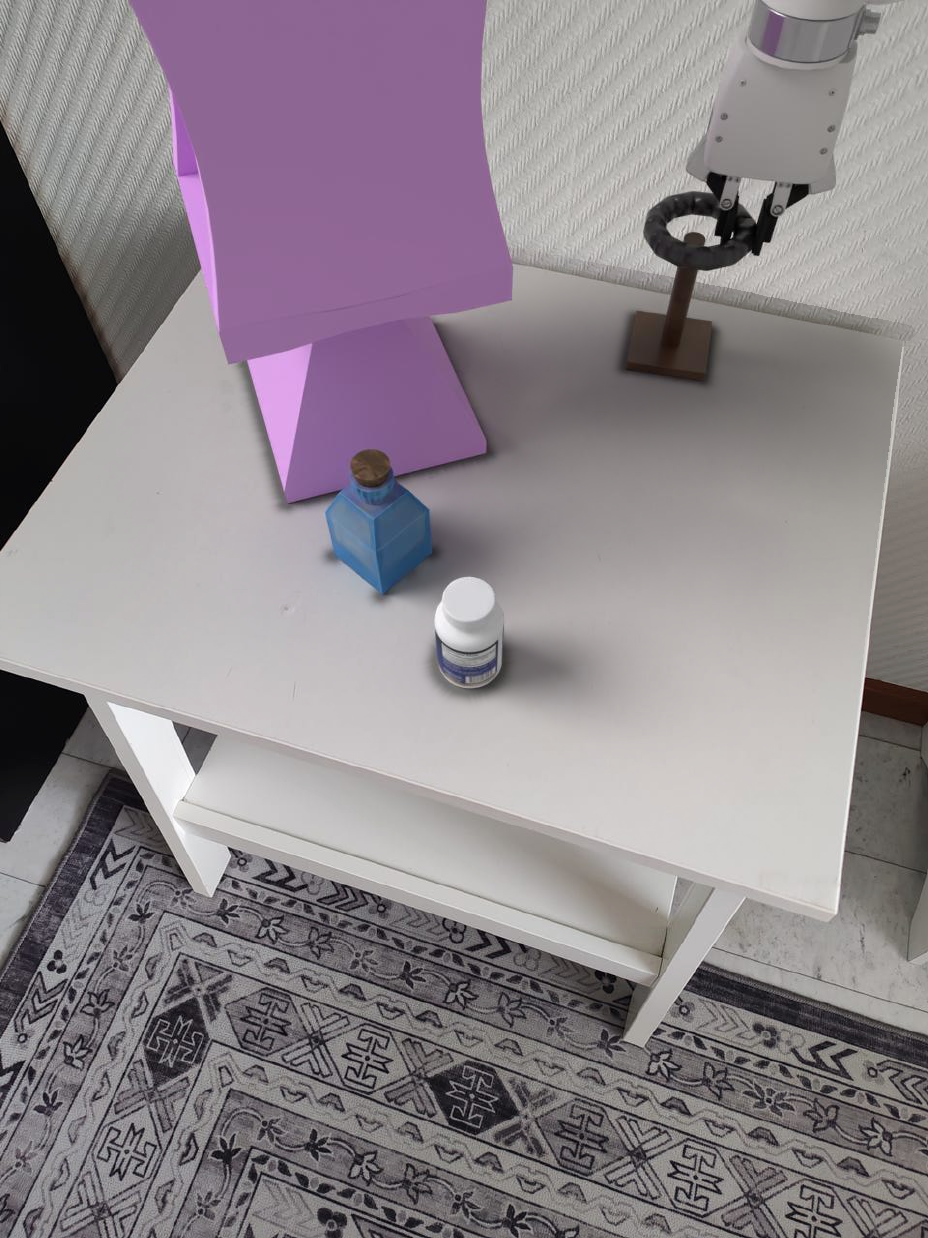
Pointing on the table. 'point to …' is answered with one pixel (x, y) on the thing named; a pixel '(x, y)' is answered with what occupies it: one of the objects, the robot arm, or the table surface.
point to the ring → (697, 254)
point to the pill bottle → (469, 633)
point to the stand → (672, 332)
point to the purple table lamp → (338, 214)
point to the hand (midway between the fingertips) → (740, 242)
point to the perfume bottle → (378, 523)
